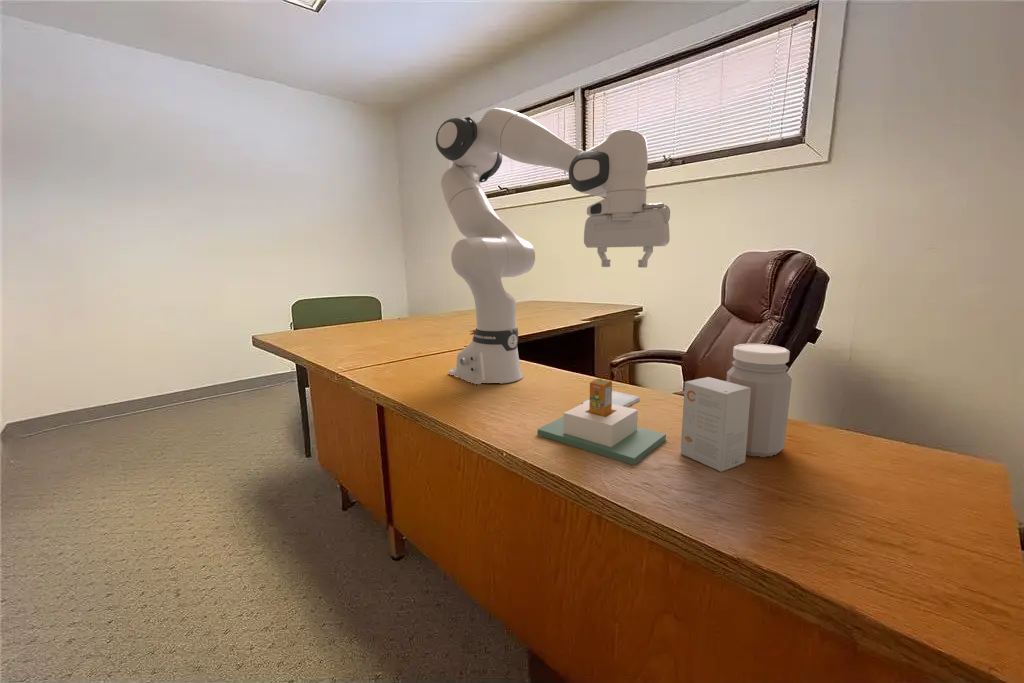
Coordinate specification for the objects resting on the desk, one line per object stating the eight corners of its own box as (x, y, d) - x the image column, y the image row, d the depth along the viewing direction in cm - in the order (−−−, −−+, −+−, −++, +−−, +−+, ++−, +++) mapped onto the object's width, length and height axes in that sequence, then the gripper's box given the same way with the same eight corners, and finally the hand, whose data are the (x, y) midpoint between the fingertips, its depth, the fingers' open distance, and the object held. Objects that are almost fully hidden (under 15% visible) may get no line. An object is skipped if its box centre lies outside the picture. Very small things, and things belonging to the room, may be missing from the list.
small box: (745, 463, 73) (752, 387, 71) (720, 473, 70) (727, 393, 68) (703, 445, 80) (708, 375, 78) (679, 453, 77) (683, 381, 75)
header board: (537, 434, 86) (537, 409, 85) (574, 416, 96) (574, 392, 95) (634, 465, 73) (635, 435, 72) (665, 439, 83) (667, 413, 82)
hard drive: (612, 410, 96) (639, 396, 105) (580, 402, 102) (609, 389, 111) (612, 417, 96) (639, 402, 105) (580, 409, 102) (609, 395, 111)
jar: (718, 451, 78) (726, 350, 74) (724, 432, 86) (731, 340, 82) (784, 464, 73) (795, 356, 69) (783, 442, 81) (793, 345, 78)
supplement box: (587, 432, 84) (588, 381, 82) (596, 427, 86) (597, 377, 84) (602, 437, 82) (604, 384, 80) (612, 431, 84) (613, 380, 82)
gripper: (676, 203, 98) (672, 267, 100) (594, 210, 111) (593, 266, 114) (664, 201, 93) (661, 268, 96) (580, 208, 106) (579, 267, 109)
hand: (623, 267), depth 105 cm, fingers open, 8 cm apart
